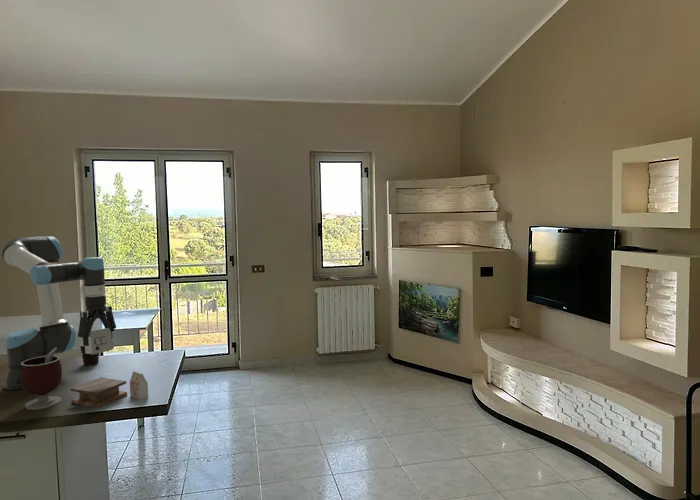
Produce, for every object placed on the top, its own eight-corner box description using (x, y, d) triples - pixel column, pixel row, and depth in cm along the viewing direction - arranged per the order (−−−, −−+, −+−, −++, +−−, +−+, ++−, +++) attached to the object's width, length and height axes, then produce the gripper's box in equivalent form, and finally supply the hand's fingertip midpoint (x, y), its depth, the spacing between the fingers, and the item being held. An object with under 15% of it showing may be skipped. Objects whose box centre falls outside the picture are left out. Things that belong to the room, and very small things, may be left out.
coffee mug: (85, 361, 255) (84, 342, 254) (103, 360, 256) (102, 341, 255) (75, 368, 244) (74, 348, 243) (94, 367, 245) (93, 347, 244)
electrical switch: (91, 355, 202) (88, 332, 202) (85, 354, 205) (82, 332, 205) (114, 350, 210) (111, 327, 210) (108, 349, 213) (105, 327, 213)
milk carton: (139, 394, 207) (137, 369, 207) (148, 397, 203) (147, 372, 203) (130, 396, 204) (129, 372, 204) (139, 400, 200) (138, 375, 200)
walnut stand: (71, 403, 198) (70, 388, 198) (101, 391, 211) (101, 377, 211) (97, 408, 193) (96, 392, 192) (127, 395, 206) (126, 381, 205)
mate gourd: (45, 411, 191) (42, 358, 190) (13, 409, 193) (9, 357, 192) (74, 396, 206) (71, 347, 205) (44, 394, 209) (41, 346, 207)
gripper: (78, 300, 194) (82, 358, 196) (123, 291, 215) (127, 344, 216) (64, 299, 197) (68, 356, 199) (110, 291, 217) (113, 343, 219)
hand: (99, 350), depth 207 cm, fingers closed on electrical switch, 9 cm apart
